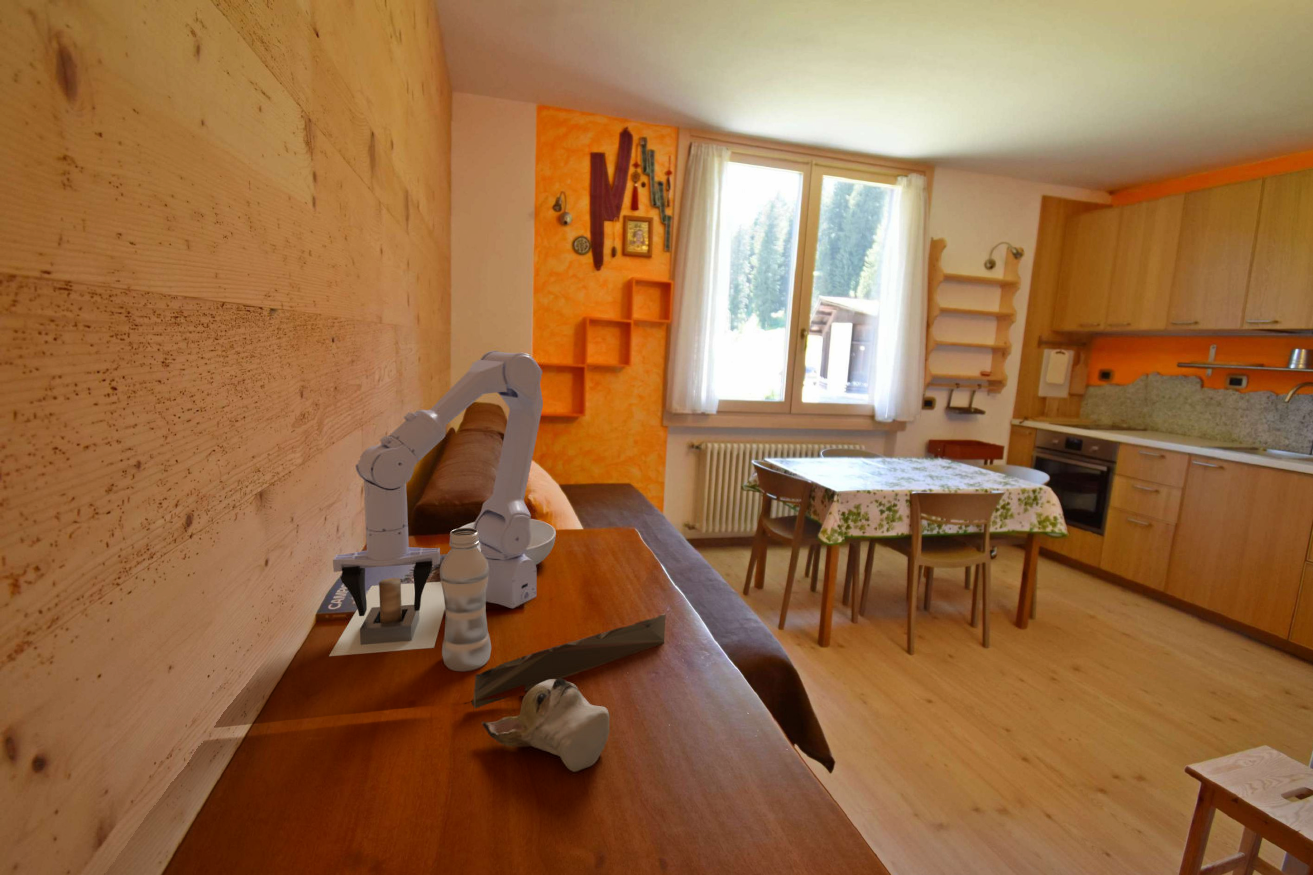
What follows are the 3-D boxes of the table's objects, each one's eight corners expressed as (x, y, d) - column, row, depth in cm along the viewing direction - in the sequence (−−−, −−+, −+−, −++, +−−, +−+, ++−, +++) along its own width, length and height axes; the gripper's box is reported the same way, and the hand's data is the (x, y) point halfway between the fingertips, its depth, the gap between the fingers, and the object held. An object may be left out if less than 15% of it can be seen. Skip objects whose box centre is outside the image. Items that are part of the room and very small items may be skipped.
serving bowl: (429, 575, 112) (428, 541, 111) (490, 541, 132) (489, 512, 131) (523, 592, 106) (523, 556, 105) (572, 554, 126) (572, 524, 125)
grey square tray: (372, 622, 91) (371, 607, 90) (419, 618, 92) (419, 604, 92) (360, 644, 84) (359, 628, 84) (411, 640, 86) (410, 625, 85)
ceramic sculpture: (571, 725, 56) (474, 679, 65) (573, 805, 57) (478, 749, 66) (636, 677, 65) (543, 642, 74) (636, 748, 66) (545, 705, 75)
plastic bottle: (477, 682, 78) (475, 542, 74) (432, 675, 79) (428, 536, 76) (499, 657, 84) (498, 527, 81) (457, 651, 85) (454, 522, 82)
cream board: (371, 590, 104) (371, 585, 104) (452, 586, 107) (452, 581, 107) (329, 662, 81) (328, 655, 81) (434, 653, 84) (433, 647, 84)
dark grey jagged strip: (659, 640, 91) (660, 609, 90) (664, 644, 90) (665, 612, 89) (471, 704, 73) (471, 666, 72) (475, 710, 72) (474, 671, 71)
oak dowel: (406, 629, 89) (404, 580, 88) (389, 637, 86) (387, 587, 85) (393, 624, 90) (391, 576, 89) (376, 632, 88) (374, 583, 86)
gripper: (440, 515, 91) (442, 594, 94) (339, 520, 87) (343, 603, 89) (437, 529, 85) (439, 614, 87) (327, 535, 80) (332, 625, 83)
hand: (390, 610), depth 88 cm, fingers open, 7 cm apart
